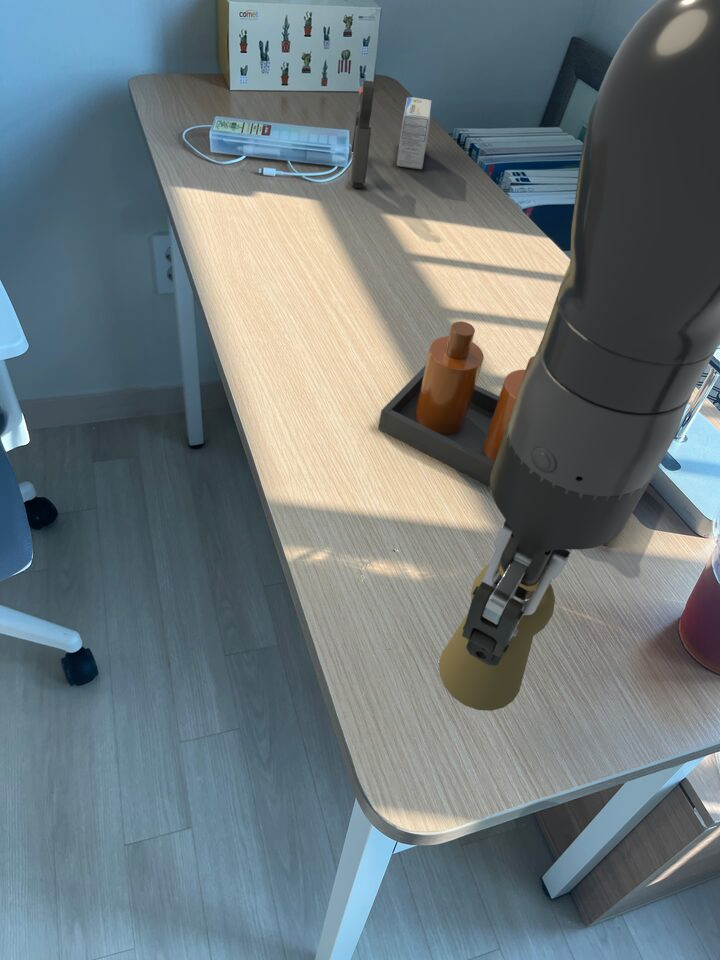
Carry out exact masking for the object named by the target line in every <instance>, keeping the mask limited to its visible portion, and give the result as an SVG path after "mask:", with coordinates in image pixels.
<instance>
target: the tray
mask: <svg viewBox="0 0 720 960" xmlns="http://www.w3.org/2000/svg"><path fill="white" fill-rule="evenodd" d="M425 367H426V364H425V365H424V366H423V367H422V368H421V369H420V370H419V371H418V372H417V373H416V374H415V375H414V376H413V377H412V379H410V380H409V382H407V383H406V384H405V385H404V386H403V387H402V389H400V391H398V392H397V394H396V395H395V396H394V397H393V398H392V399H390V401H388V403H387V404H386V405H385V406H384V407H383V408H382V409H381V410H380V416H379V422H378V425H377V430H379V431H381V432H383V433H385V434H386V435H389V436H390V437H393V438H394V439H396V440H397V441H400V442H401V443H404V444H406V445H408V446H410V447H412V448H414V449H415V450H418V451H420V452H422V453H423V454H425V455H427V456H429V457H431V458H433V459H435V460H437V461H439V462H441V463H443V464H445V465H447V466H449V467H451V468H453V469H454V470H456V471H459V472H461V473H462V474H464V475H466V476H468V477H470V478H472V479H474V480H476V481H478V482H480V483H482V484H484V485H485V486H487V487H490V478H491V472H492V469H493V466H494V463H495V461H493V460H491V459H489V458H488V457H487V456H486V454H485V452H484V449H483V444H484V441H485V438H486V435H487V432H488V429H489V426H490V423H491V420H492V417H493V414H494V411H495V408H496V405H497V402H498V399H499V396H500V395H498V394H496V393H493V392H491V391H489V390H487V389H485V388H483V387H481V386H479V385H476V386H475V390H474V393H473V397H472V400H471V403H470V407H469V410H468V413H467V417H466V420H465V423H464V426H463V427H462V428H461V429H460V430H459V431H457V432H455V433H452V434H439V433H437V432H435V431H433V430H431V429H429V428H427V427H425V426H423V425H421V424H419V423H418V421H417V419H416V417H415V410H416V406H417V402H418V397H419V393H420V389H421V384H422V380H423V376H424V371H425ZM608 543H609V542H607V543H605V544H603V545H602V546H605V547H606V546H607V545H608Z"/></svg>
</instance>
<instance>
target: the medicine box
mask: <svg viewBox="0 0 720 960" xmlns="http://www.w3.org/2000/svg"><path fill="white" fill-rule="evenodd" d="M432 107H433V101H432V100H430V99H425V98H421V97H413V96H412V97H411V96H408V97H406V101H405V107H404V113H403V117H402V123H401V131H400V138H399V145H398V152H397V159H396V166H397V167H401V168H405V169H406V168H407V169H412V170H413V169H414V170H422V169H423V167H424V160H425V154H426V147H427V143H428V136H429V132H430V131H429V130H430V124H431V116H432Z"/></svg>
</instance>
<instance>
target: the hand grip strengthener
mask: <svg viewBox="0 0 720 960" xmlns="http://www.w3.org/2000/svg"><path fill="white" fill-rule="evenodd" d="M361 84H362V87H360V88H359V90H358V97H359V103H358V104H359V105H358V111H356V115H355V120H354V121H355V122H354V129H353V136H352V141H351V147H350V152H351V151H352V152H353V153H351V154H352V161H351V169H350V170H351V171H350V182H351V185H352V186H351V187H352V188H355V189H363V184H365V183H366V177H367V170H368V160H369V152H370V142H371V133H372V127H371V126H370V123H371V122H370V121H371V116H372V111H373V110H372V109H373V102H374V90H375V81H373V80H362V83H361Z"/></svg>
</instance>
